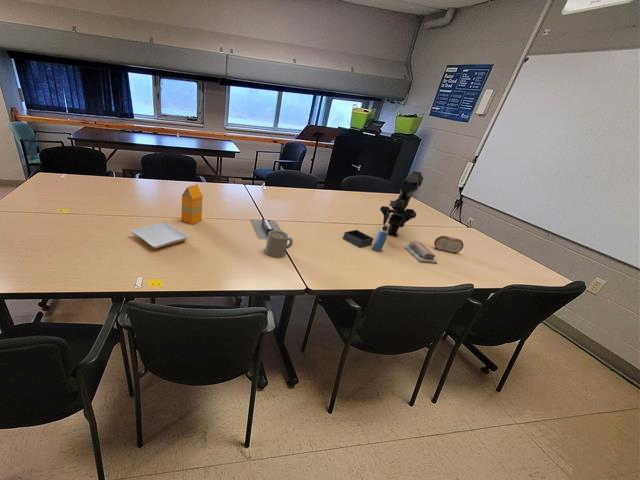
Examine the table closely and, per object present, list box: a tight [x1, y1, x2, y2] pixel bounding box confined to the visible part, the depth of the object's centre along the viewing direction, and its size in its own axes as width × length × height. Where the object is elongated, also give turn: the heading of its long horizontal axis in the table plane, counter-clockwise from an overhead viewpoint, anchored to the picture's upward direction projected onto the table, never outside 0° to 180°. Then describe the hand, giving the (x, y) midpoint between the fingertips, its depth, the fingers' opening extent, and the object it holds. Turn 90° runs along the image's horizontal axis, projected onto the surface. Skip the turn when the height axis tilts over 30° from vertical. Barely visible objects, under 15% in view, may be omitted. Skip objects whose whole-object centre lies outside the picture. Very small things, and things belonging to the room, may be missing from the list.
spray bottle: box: [372, 224, 389, 252], centre depth 173 cm, size 5×5×14 cm
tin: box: [433, 235, 465, 254], centre depth 185 cm, size 15×3×8 cm, turn 71°
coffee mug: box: [264, 230, 294, 258], centre depth 157 cm, size 13×10×10 cm
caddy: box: [342, 229, 374, 248], centre depth 183 cm, size 11×13×4 cm
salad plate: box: [129, 222, 190, 249], centre depth 156 cm, size 21×21×3 cm
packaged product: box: [404, 240, 438, 264], centre depth 176 cm, size 18×5×10 cm
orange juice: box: [181, 184, 204, 225], centre depth 177 cm, size 8×9×20 cm
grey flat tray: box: [251, 219, 281, 239], centre depth 182 cm, size 14×25×4 cm, turn 9°
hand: (391, 225), depth 177 cm, fingers open, 9 cm apart
